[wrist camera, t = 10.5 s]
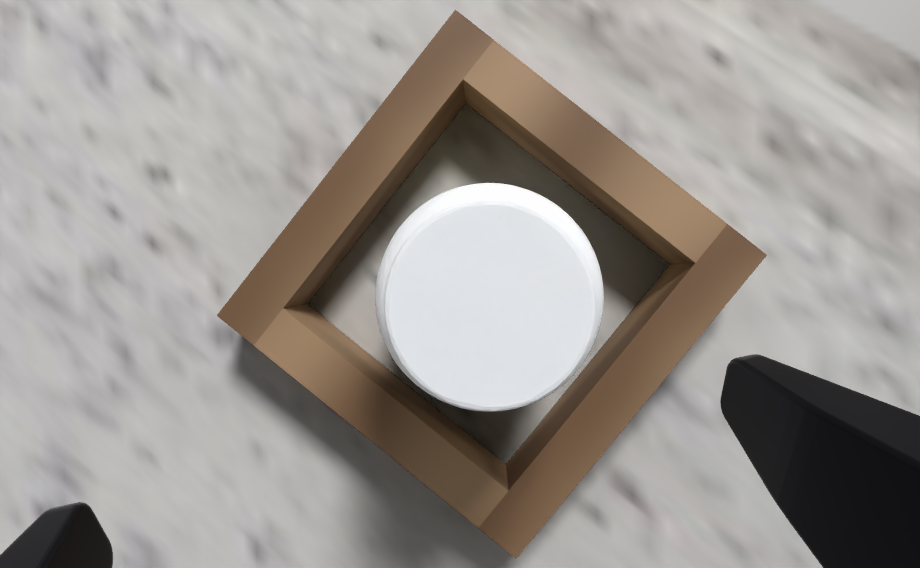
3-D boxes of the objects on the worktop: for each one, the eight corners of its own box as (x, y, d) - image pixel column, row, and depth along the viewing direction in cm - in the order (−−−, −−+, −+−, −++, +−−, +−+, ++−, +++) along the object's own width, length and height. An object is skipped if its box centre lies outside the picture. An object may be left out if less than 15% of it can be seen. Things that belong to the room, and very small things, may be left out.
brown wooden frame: (732, 257, 20) (766, 255, 18) (512, 524, 21) (516, 558, 18) (459, 41, 20) (455, 9, 18) (248, 310, 21) (216, 315, 18)
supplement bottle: (381, 315, 21) (290, 352, 11) (460, 182, 21) (438, 98, 11) (513, 395, 21) (540, 503, 11) (593, 262, 20) (695, 250, 11)
